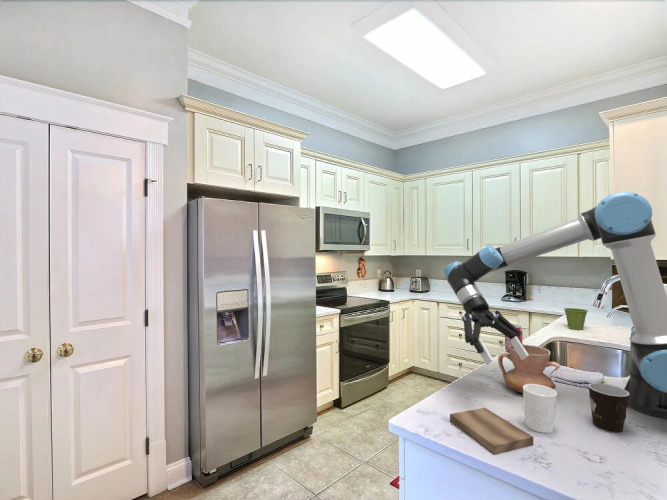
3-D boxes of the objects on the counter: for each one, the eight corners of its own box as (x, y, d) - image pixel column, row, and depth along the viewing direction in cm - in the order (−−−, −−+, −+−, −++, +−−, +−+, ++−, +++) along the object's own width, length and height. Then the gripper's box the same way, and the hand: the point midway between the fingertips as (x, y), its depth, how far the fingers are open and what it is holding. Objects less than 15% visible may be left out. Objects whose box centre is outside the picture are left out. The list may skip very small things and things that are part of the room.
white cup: (539, 436, 88) (540, 397, 88) (515, 421, 96) (516, 385, 96) (563, 432, 91) (564, 394, 90) (538, 417, 98) (539, 382, 98)
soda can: (501, 350, 161) (501, 324, 161) (513, 348, 163) (513, 323, 163) (513, 354, 155) (513, 328, 154) (525, 353, 157) (526, 327, 156)
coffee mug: (588, 415, 100) (589, 380, 100) (628, 425, 94) (628, 388, 94) (585, 431, 91) (586, 393, 91) (629, 444, 85) (630, 403, 85)
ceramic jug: (562, 391, 116) (562, 349, 116) (553, 405, 105) (554, 359, 105) (504, 377, 128) (505, 338, 128) (491, 389, 118) (492, 347, 117)
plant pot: (580, 326, 209) (580, 308, 209) (592, 331, 198) (592, 311, 198) (559, 326, 211) (559, 307, 211) (569, 330, 199) (570, 311, 199)
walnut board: (484, 414, 100) (484, 407, 100) (533, 444, 85) (533, 436, 85) (449, 421, 96) (449, 414, 96) (494, 454, 81) (494, 445, 81)
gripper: (495, 306, 124) (531, 361, 110) (436, 310, 115) (467, 370, 102) (507, 293, 119) (547, 349, 105) (446, 296, 110) (480, 358, 96)
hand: (507, 360), depth 103 cm, fingers open, 13 cm apart
